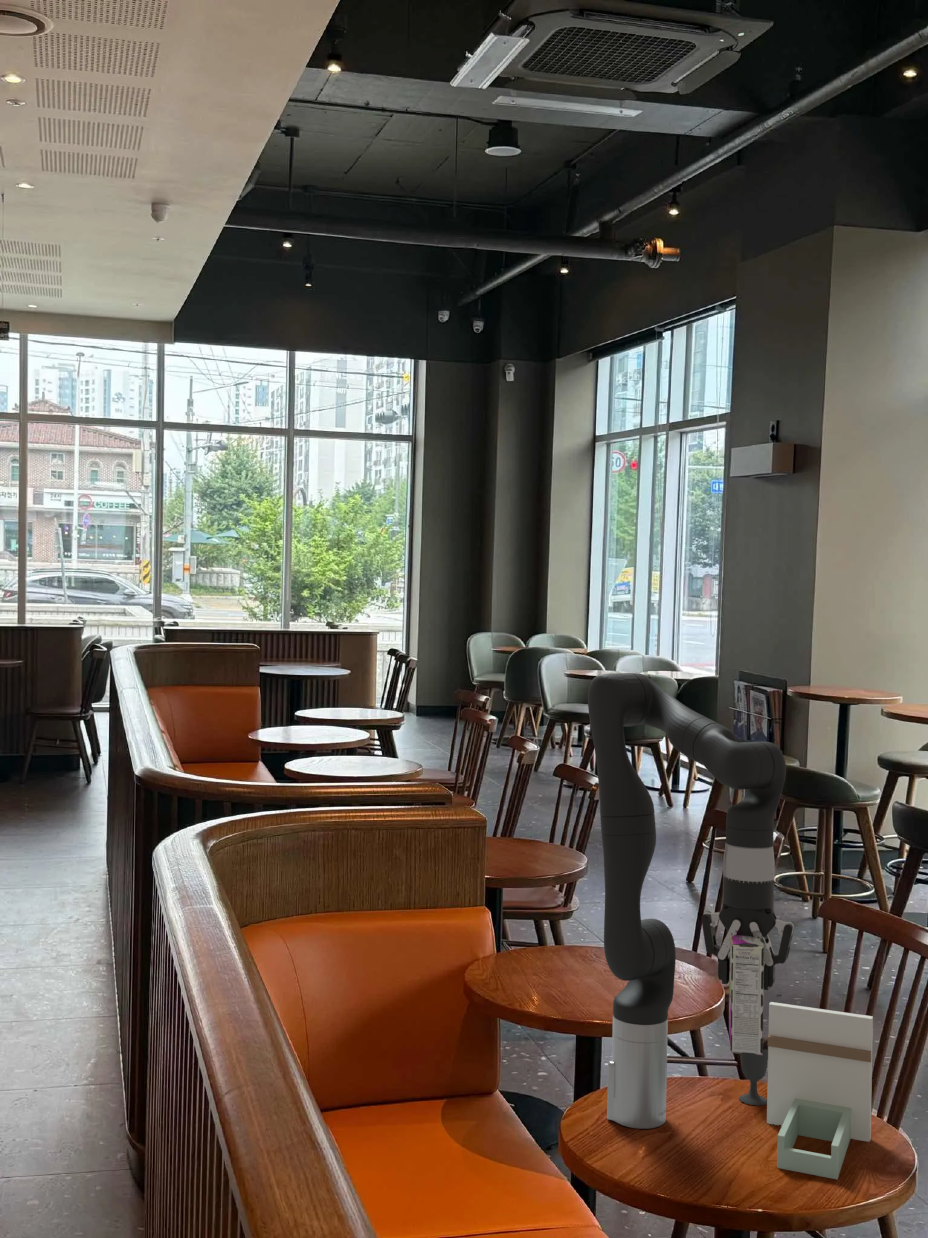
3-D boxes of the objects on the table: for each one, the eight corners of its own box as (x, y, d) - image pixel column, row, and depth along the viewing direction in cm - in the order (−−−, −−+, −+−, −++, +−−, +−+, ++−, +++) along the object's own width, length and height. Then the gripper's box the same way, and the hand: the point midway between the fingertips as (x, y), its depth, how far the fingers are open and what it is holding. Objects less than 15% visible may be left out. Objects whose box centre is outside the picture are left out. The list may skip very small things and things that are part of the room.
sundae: (728, 1093, 218) (730, 1009, 218) (765, 1093, 218) (767, 1009, 218) (739, 1108, 211) (741, 1021, 211) (777, 1108, 212) (779, 1021, 212)
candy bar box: (727, 1029, 190) (729, 923, 190) (760, 1032, 189) (762, 926, 189) (728, 1054, 179) (730, 942, 179) (763, 1057, 178) (765, 944, 178)
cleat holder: (747, 1162, 190) (750, 1033, 190) (768, 1120, 206) (770, 1002, 206) (858, 1184, 183) (860, 1050, 183) (870, 1139, 200) (872, 1016, 200)
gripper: (695, 873, 184) (693, 986, 184) (793, 884, 178) (790, 1000, 178) (706, 865, 190) (704, 973, 190) (801, 875, 185) (798, 986, 184)
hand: (746, 985), depth 184 cm, fingers closed on candy bar box, 5 cm apart
